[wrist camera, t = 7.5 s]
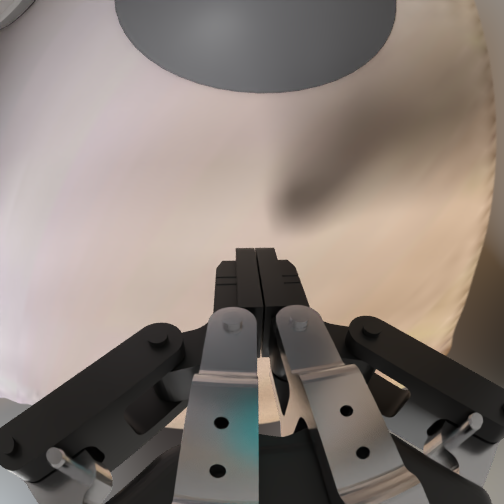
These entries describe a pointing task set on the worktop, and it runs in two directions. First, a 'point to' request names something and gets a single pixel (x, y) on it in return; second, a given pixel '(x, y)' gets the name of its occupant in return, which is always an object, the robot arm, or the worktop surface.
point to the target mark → (258, 39)
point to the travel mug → (12, 10)
